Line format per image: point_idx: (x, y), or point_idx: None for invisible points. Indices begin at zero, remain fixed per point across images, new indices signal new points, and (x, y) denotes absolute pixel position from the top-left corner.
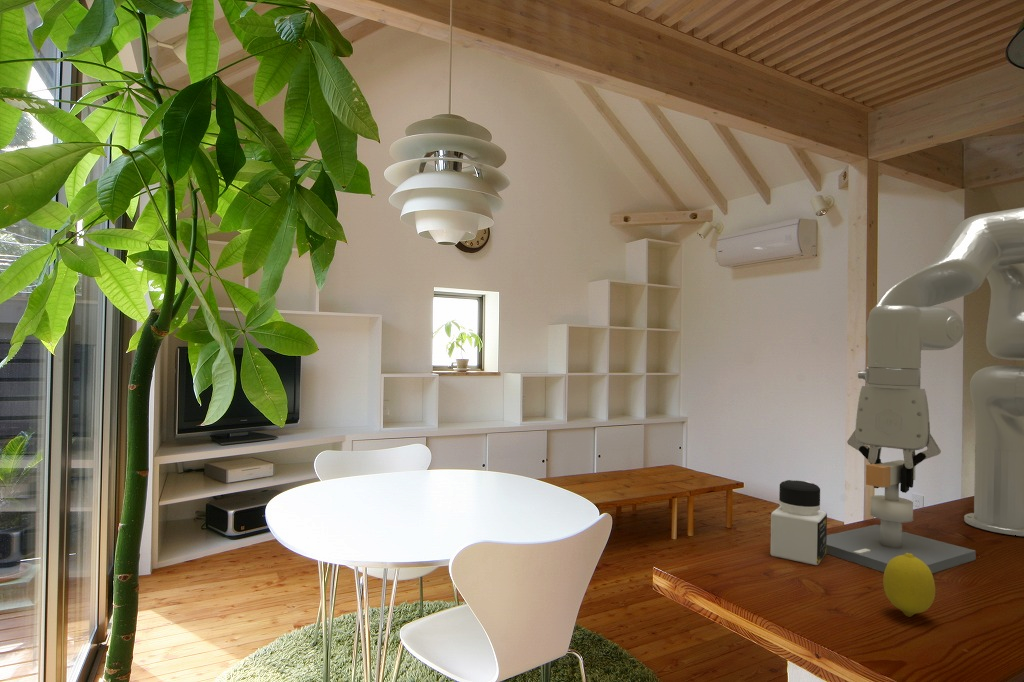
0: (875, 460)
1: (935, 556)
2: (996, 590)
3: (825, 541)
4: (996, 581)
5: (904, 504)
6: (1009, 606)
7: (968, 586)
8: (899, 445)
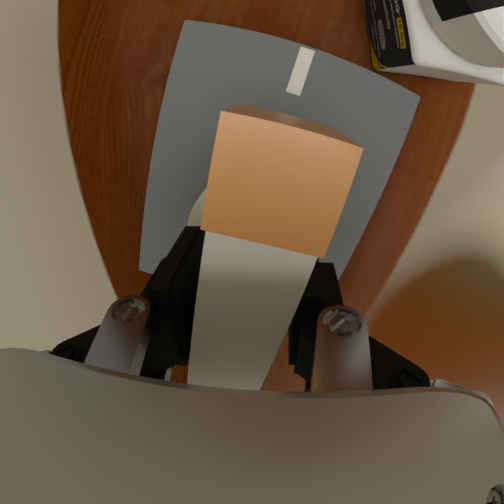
0: (320, 322)
1: (169, 169)
2: (82, 111)
3: (381, 50)
4: (92, 161)
5: (199, 198)
6: (63, 54)
7: (111, 90)
8: (87, 385)
